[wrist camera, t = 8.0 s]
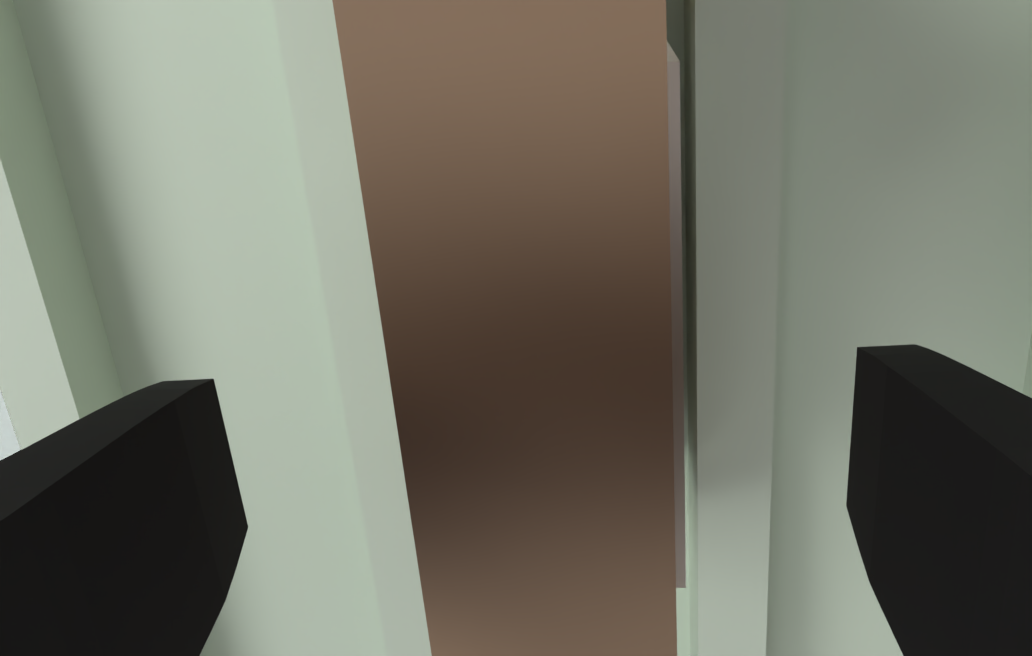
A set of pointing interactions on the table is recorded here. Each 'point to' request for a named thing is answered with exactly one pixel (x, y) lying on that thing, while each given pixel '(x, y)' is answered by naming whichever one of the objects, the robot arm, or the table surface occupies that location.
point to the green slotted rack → (354, 304)
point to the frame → (530, 311)
